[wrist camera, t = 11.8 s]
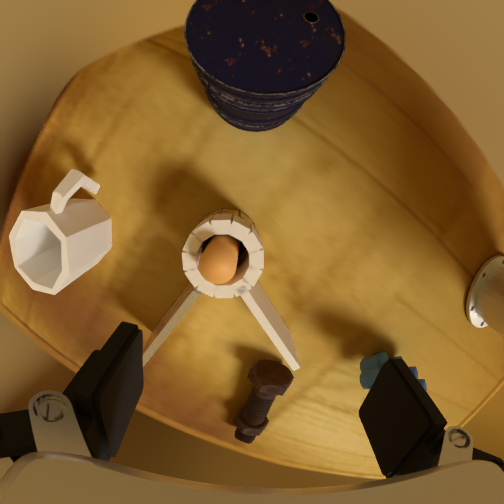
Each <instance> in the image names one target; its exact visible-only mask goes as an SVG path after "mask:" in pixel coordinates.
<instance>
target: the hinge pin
mask: <svg viewBox="0 0 504 504" xmlns="http://www.w3.org/2000/svg"><path fill="white" fill-rule="evenodd" d="M239 246H240V240H238V239H236V238H235V237H233V236H231V235H229V234H224V235H213V237H212V239H211V240H210V242H209V244H208V245H207V247H206V249H205V250H204V252H203V254H202V255H201V257H200V260H199V271H200V273H201V275H202V276H203V278H204V279H206V280H207V281H209V282H211V283H214V284H222V283H226V282H228V281H229V280H230V279H231V278H232V277H233V276H234V274H235V272H236V267H237V260H238V253H239Z"/></svg>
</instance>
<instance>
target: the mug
mask: <svg viewBox="0 0 504 504" xmlns="http://www.w3.org/2000/svg"><path fill="white" fill-rule="evenodd" d="M80 187H82V188H84V189H86V190H88V191H89V192H92V193H94V194H96V193H97V192H98V190H99V188H100V185H99V184H97V183H96V182H94V181H93V180H91V179H90V178H88V177H87V176H85V175H84V174H83V173H82V172H80V171H78V170H75V169H71V170H70V172H69V173H68V174H67V175H66V176H65V178H64V179H63V180H62V181H61V182H60V184H59V185H58V186H57V187H56V189H55V190H54V191H53V194H52V199H51V203H50V204H46V205H42V206H38V207H34V208H30V209H27V210H23V211H22V212H21V213H20V215H19V217H18V219H17V221H16V223H15V225H14V227H13V229H12V231H11V233H10V235H9V239H10V245H11V251H12V256H13V261H14V266H15V268H16V270H17V271H18V272H19V273H20V275H21V276H22V277H23V278H24V280H25V281H26V282H27V283H28V284H29V286H30V287H31V288H32V289H33V290H37V291H41V292H45V293H49V294H53V295H55V294H57V293H58V292H59V291H61V290H62V289H63V288H64V287H66V286H67V285H68V284H70V283H71V282H72V281H74V280H75V279H77V278H78V277H79V276H81V275H82V274H83V273H85V272H86V271H88V270H89V269H90V268H92V267H93V266H95V265H96V264H97V263H98V262H99V261H100V260H101V259H102V258H103V256H104V255H105V254H106V253H107V252H108V251H109V250H110V249H111V247H112V222H111V219H112V218H111V217H110V216H109V215H108V214H107V212H106V211H105V210H104V209H103V208H102V207H101V205H100V204H99V203H98V202H97V201H96V200H95V199H75V198H72V199H69V198H70V197H71V196H72V195H73V194H74V193H75V192H76V191H77V190H78V189H79V188H80Z"/></svg>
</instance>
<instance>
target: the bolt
mask: <svg viewBox="0 0 504 504" xmlns="http://www.w3.org/2000/svg"><path fill="white" fill-rule="evenodd" d="M247 377H248V378H249V379H250V381H251V382H252V383H253V385H254V386H253V387H254V388H253V390H252V393H251V395H250V397H249V400H248V402H247V405H246V407H245V408H243V409H242V410H241V411H240V412H239V413H238V414H237V415H236V417H235V419H234V423H235V425H236V427H237V429H236V431H235V438H236V439H238V440H240V441H242V442H245V443H248V444H249V443H251V442H252V441H253V440H254V439H255V437H256V436H257V435H260V434H261V433H262V431H263V430H264V429H265V427H266V426H267V424H268V422H269V421H268V419H267V417H266V415H267V413H268V411H269V409H270V407H271V405H272V403H273V401H274V399H275V397H276V395H283V394H284V393H285V391H286V390H287V388H288V387H289V386H290V384H291V382H292V380H293V378H294V377H293V375H292V373H291V371H290V370H289V369H288V368H287V367H286V366H285V365H283V364H281V363H279V362H276V361H271V360H260V361H258V362H257V363H256V364H254V366H253V367H252V368H251V370H250V371H249V374H248V376H247Z"/></svg>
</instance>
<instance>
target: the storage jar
mask: <svg viewBox="0 0 504 504" xmlns="http://www.w3.org/2000/svg"><path fill="white" fill-rule="evenodd" d="M184 31H185V41H186V45H187V49H188V51H189V53H190V56H191V60H192V63H193V66H194V68H195V70H196V72H197V75H198V77H199V79H200V81H201V83H202V84H203V86H204V89H205V92H206V95H207V97H208V99H209V101H210V102H211V104H212V106H213V107H214V109H215V110H216V111H217V113H218V114H219V115H220V117H221V118H222V119H223V120H225V121H226V122H227V123H229V124H230V125H232V126H234V127H236V128H238V129H241V130H245V131H252V132H260V131H267V130H271V129H274V128H276V127H278V126H280V125H282V124H283V123H285V122H286V121H287V120H289V119H290V118H291V117H292V116H294V114H295V113H296V112H297V111H298V110H299V109H300V108H301V106H302V105H303V103H304V102H305V101H306V100H307V99H309V98H310V97H311V96H312V95H313V94H314V93H315V92H316V91H317V90H318V89H319V88H320V87H321V86H322V85H323V83H324V82H325V81H326V80H327V78H328V77H329V75H330V74H331V73H332V72H333V71H334V70H335V69H336V67H337V66H338V64H339V63H340V61H341V59H342V56H343V54H344V51H345V45H346V32H345V28H344V24H343V21H342V19H341V17H340V15H339V13H338V11H337V10H336V8H335V7H334V6H333V4H332V3H331V2H330V1H329V0H196V1H195V3H194V4H193V6H192V7H191V9H190V11H189V13H188V16H187V18H186V22H185V28H184Z"/></svg>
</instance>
